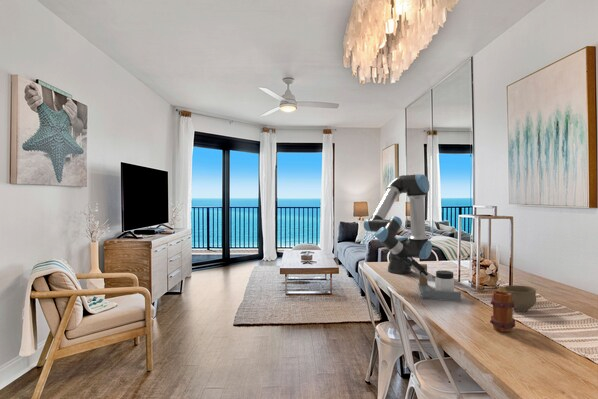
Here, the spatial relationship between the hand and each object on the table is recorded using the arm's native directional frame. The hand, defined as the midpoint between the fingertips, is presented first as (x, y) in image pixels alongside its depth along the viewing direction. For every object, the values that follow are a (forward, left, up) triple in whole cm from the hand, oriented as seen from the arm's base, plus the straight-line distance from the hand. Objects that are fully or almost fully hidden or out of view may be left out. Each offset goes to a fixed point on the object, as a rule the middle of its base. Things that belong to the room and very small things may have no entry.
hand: (424, 275), depth 187 cm
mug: (+55, +23, -6) cm, 60 cm away
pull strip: (+11, +5, -6) cm, 14 cm away
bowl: (+32, +36, -6) cm, 49 cm away
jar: (+16, +8, -6) cm, 19 cm away
